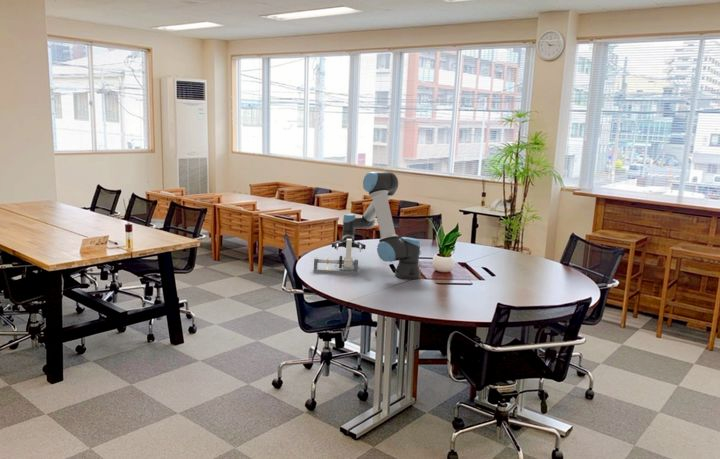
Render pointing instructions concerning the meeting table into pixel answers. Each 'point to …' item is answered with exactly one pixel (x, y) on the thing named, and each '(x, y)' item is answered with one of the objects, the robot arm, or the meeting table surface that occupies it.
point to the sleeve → (348, 255)
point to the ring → (340, 262)
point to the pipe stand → (334, 269)
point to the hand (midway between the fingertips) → (348, 248)
